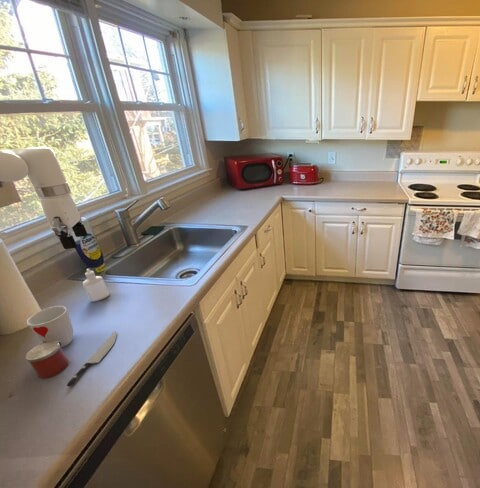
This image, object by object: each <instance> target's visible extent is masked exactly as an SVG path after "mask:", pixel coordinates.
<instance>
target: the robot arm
mask: <svg viewBox="0 0 480 488" xmlns="http://www.w3.org/2000/svg"><path fill="white" fill-rule="evenodd" d="M26 177H28V179H29V181H30V183H31V185H32V187H33V189H34V191H35V194H36V195H37V198H38V199H39V200H40V204H41V207H42V210H43V211H42V212H43V213H44V217H45V218H46V220H47V223H48V226H49V229H50V230H51V231H53V233H54V234H55V236H56V237H57V238H58V239H59V241H60V243H61V245H62V247H63V249H64V250H70V249H76V248H77V247H78V244H77V242H76V240H75V238H74V236H75V237H76V238H82V237H87V236H88V232H87V229H86V227H85V225H84V222H83V220H82V216H81V213H80V210H79V209H78V207H77V204H76V202H75V201H74V198H73V197H72V195H71V194H72V190H71V188H70V186H69V184H68V181H67V179H66V176H65V175H64V172H63V169H62V167H61V165H60V162H59V160H58V158H57V156H56V153H55V151H54V150H53V149H52V148H51V147H48V146H32V147H24V148H20V149H0V182H5V183H6V182H7V183H16V182H19V181H22V180H23V179H25V178H26ZM71 229H72V231H73V233H74V236H73V234H72V235H71Z"/></svg>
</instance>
